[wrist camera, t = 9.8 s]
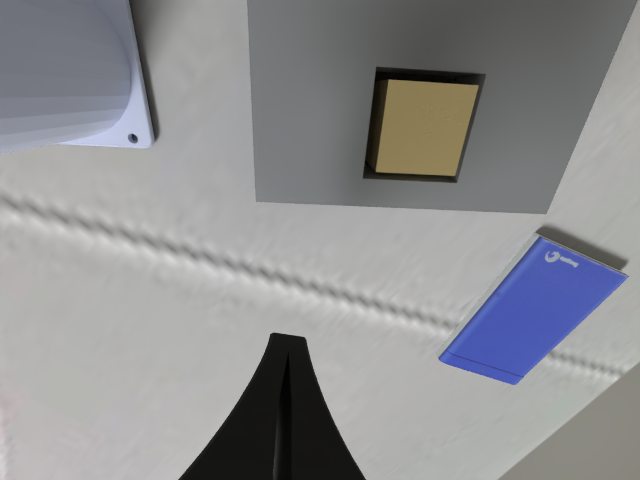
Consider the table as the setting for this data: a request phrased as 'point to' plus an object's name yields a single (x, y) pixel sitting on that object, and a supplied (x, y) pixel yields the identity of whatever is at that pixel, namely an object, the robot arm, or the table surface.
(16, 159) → the table surface
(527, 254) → the hard drive
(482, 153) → the panel
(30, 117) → the robot arm
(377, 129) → the brass button
